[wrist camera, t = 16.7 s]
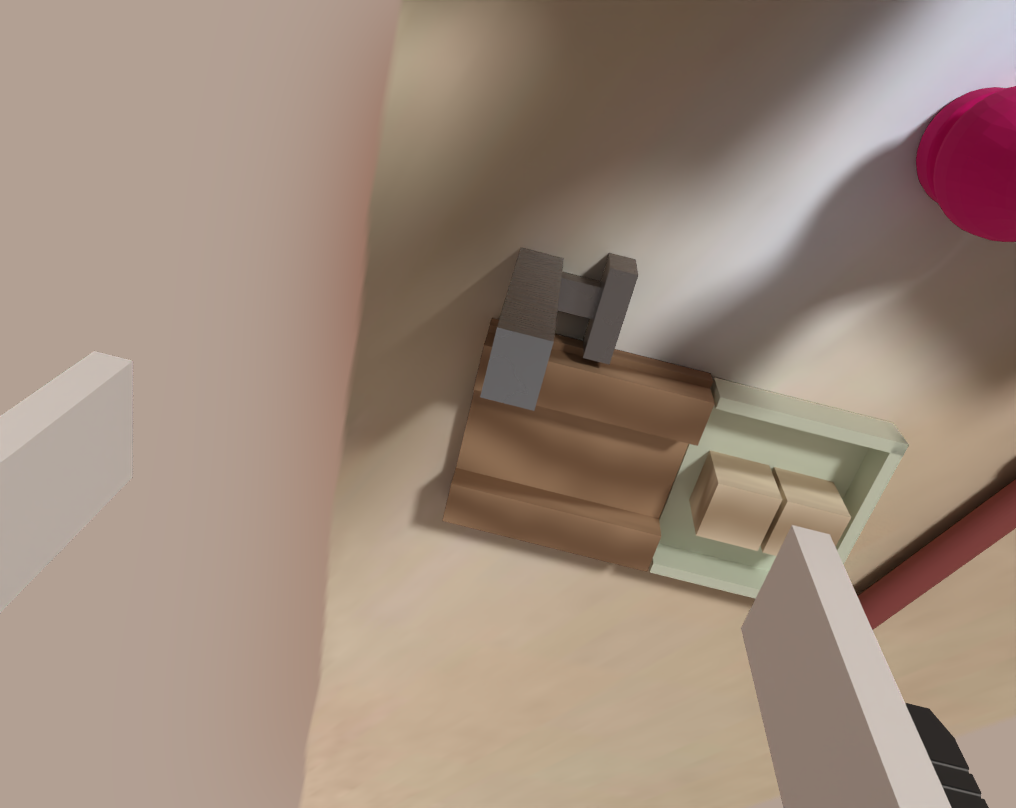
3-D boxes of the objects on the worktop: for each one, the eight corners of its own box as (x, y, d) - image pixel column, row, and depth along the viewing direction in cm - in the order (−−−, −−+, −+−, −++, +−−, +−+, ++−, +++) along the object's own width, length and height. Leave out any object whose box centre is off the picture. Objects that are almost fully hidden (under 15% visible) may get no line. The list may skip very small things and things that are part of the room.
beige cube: (709, 450, 51) (718, 483, 47) (769, 465, 51) (782, 499, 47) (689, 499, 53) (696, 535, 49) (746, 514, 53) (757, 551, 49)
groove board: (491, 317, 49) (485, 337, 46) (710, 373, 49) (717, 395, 46) (448, 499, 55) (440, 526, 52) (642, 548, 55) (644, 577, 53)
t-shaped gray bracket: (524, 231, 46) (502, 306, 35) (635, 259, 46) (649, 344, 35) (503, 318, 49) (475, 415, 37) (608, 345, 49) (613, 450, 37)
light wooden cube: (774, 466, 51) (787, 501, 47) (833, 481, 51) (851, 517, 48) (751, 515, 53) (762, 552, 49) (808, 530, 53) (823, 568, 49)
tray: (714, 377, 49) (720, 397, 47) (893, 422, 49) (909, 444, 47) (647, 547, 55) (649, 572, 53) (806, 586, 56) (816, 613, 53)
